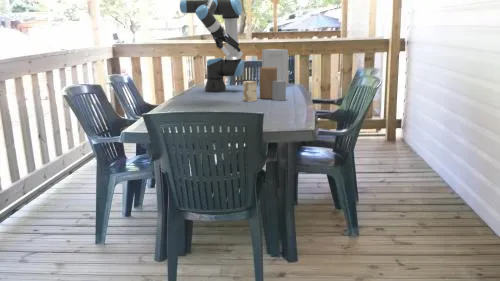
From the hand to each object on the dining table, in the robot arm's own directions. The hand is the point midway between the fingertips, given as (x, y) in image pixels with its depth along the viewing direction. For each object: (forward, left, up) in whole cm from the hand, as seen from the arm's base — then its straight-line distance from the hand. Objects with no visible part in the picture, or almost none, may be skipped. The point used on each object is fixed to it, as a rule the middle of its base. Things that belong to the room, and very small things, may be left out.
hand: (235, 55), depth 282 cm
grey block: (+13, +24, -28) cm, 40 cm away
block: (+3, +23, -29) cm, 37 cm away
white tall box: (-40, +61, -29) cm, 78 cm away
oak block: (+5, +7, -28) cm, 30 cm away
